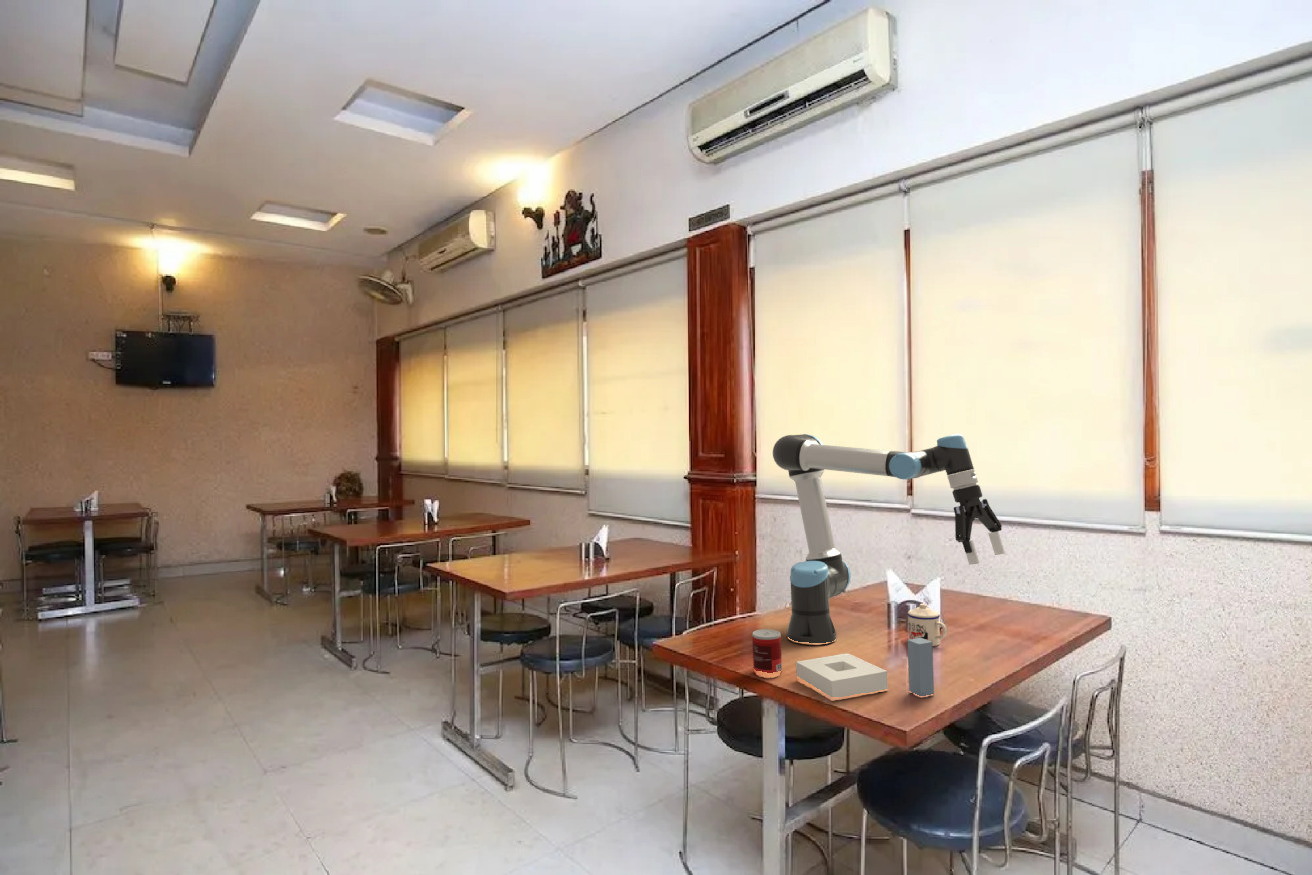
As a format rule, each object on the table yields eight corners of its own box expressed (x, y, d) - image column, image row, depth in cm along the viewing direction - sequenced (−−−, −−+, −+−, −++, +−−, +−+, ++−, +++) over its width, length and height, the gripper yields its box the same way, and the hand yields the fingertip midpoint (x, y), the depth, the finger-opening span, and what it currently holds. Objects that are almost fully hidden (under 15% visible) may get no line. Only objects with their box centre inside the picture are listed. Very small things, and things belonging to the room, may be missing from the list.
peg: (909, 692, 169) (907, 639, 169) (922, 690, 170) (920, 637, 170) (920, 698, 165) (919, 644, 165) (934, 695, 166) (932, 641, 166)
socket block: (796, 680, 179) (796, 661, 179) (848, 671, 185) (847, 653, 185) (832, 701, 164) (832, 681, 164) (887, 691, 170) (887, 671, 170)
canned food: (778, 668, 190) (777, 628, 190) (785, 678, 182) (783, 636, 182) (751, 669, 189) (749, 629, 189) (756, 679, 181) (754, 637, 181)
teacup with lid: (902, 642, 209) (900, 603, 209) (920, 636, 214) (919, 599, 214) (937, 651, 199) (936, 611, 199) (955, 645, 204) (954, 606, 204)
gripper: (952, 490, 190) (975, 566, 187) (999, 478, 204) (1022, 548, 201) (928, 495, 196) (951, 569, 193) (976, 483, 210) (998, 551, 207)
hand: (987, 559), depth 197 cm, fingers open, 13 cm apart
